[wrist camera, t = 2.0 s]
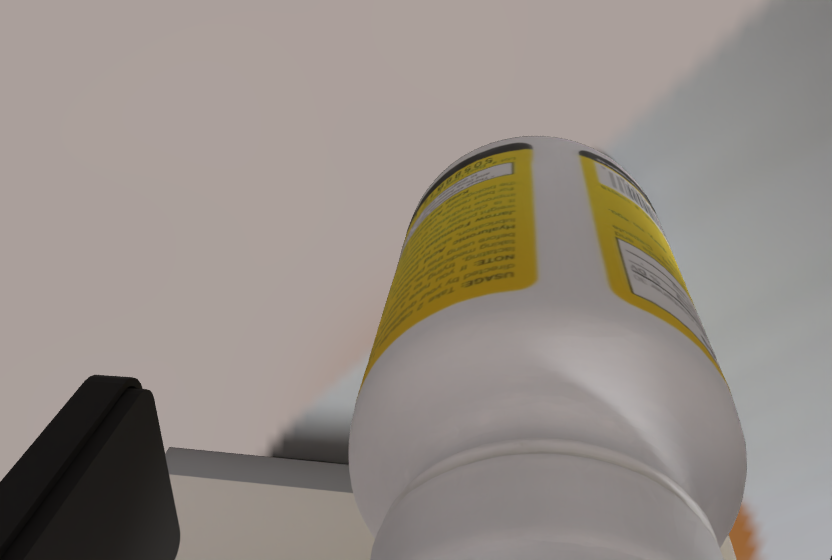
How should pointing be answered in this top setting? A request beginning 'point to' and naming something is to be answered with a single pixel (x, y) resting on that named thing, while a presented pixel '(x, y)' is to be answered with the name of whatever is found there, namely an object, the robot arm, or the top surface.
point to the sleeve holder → (270, 509)
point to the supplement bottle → (543, 375)
